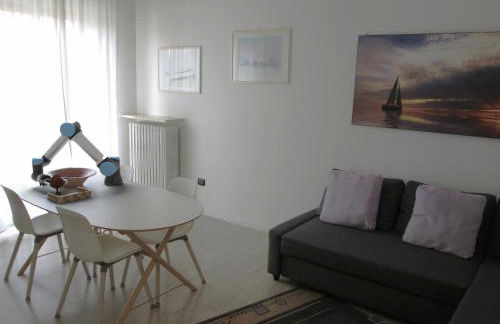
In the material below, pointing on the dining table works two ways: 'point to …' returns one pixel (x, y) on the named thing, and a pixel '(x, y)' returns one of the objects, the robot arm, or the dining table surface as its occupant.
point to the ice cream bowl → (56, 183)
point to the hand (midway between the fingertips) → (58, 183)
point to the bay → (70, 196)
